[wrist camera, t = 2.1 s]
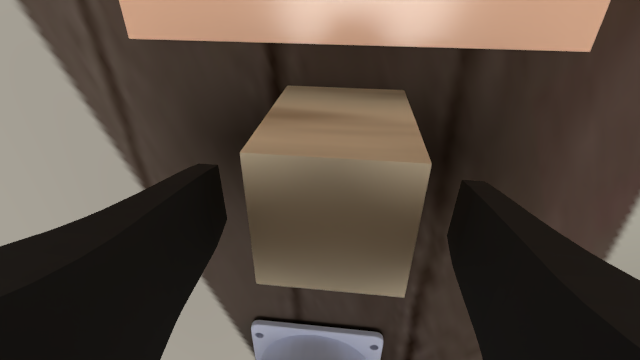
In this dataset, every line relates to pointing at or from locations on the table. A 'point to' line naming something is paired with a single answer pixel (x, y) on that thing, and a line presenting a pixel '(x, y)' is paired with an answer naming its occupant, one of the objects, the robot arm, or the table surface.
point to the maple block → (336, 190)
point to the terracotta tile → (374, 22)
